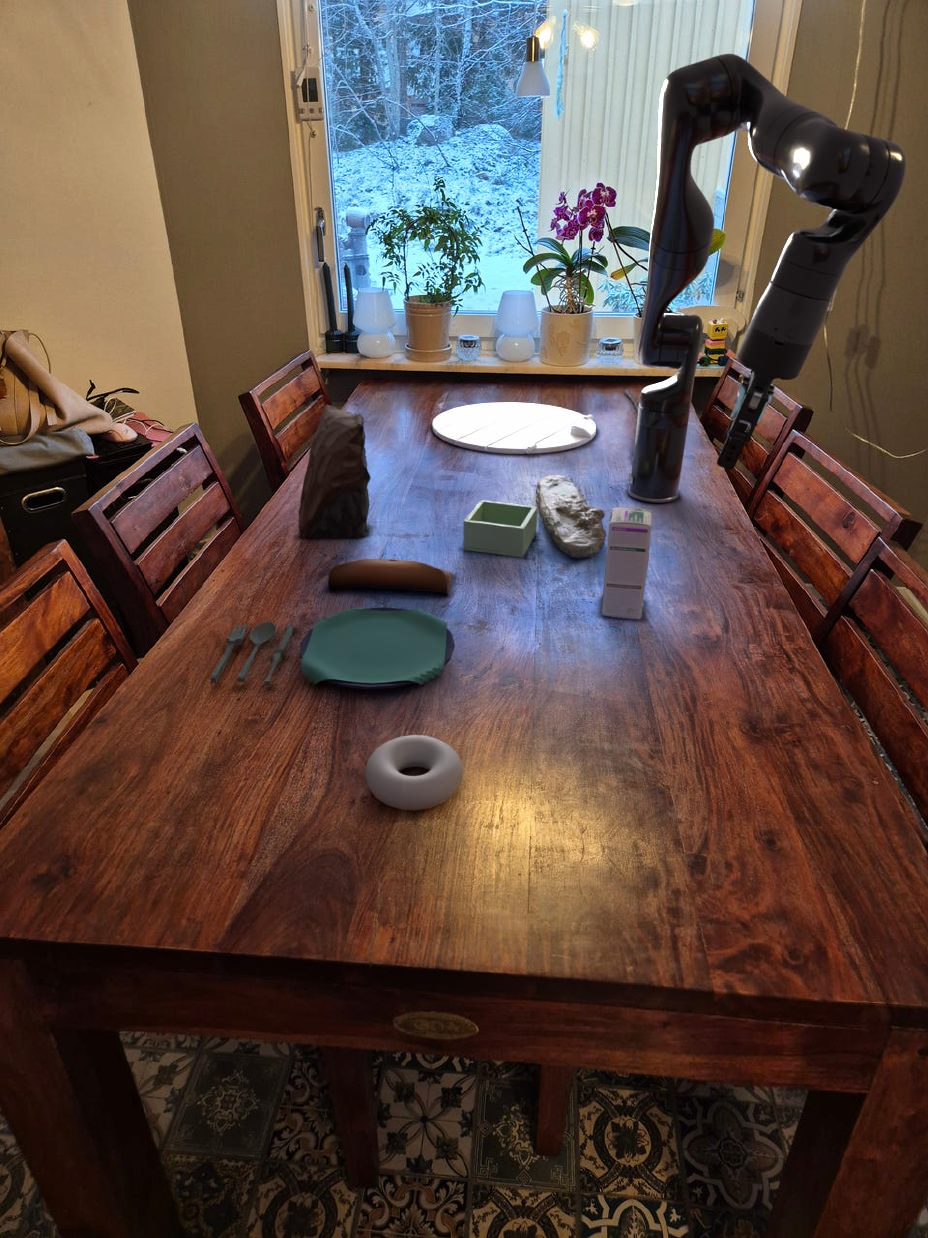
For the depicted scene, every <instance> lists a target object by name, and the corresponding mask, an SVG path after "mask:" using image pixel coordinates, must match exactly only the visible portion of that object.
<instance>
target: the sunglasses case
mask: <svg viewBox="0 0 928 1238" xmlns="http://www.w3.org/2000/svg"><path fill="white" fill-rule="evenodd" d="M452 580H453V574H452V573H451V572H449V571H446V570H444V569H442V568H440V567H439V568H438V567H435V566H432V565H430V564H428V563H425V562H421V561H416V560H407V559H396V558H390V559H388V558H361V559H356V560H351V561H346V562H343V563H340V564H336V565H334V566H333V567H332V568H330V570H329V572H328V577H327V587H328V590H330V589H358V588H359V589H367V588H368V589H369V588H374V589H384V590H404V591H420V592H421V591H422V592H431V593H432V592H433V593H434V592H435V593H444V594H445V595H447V596H449V595H450V591H451V585H452Z"/></svg>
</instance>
